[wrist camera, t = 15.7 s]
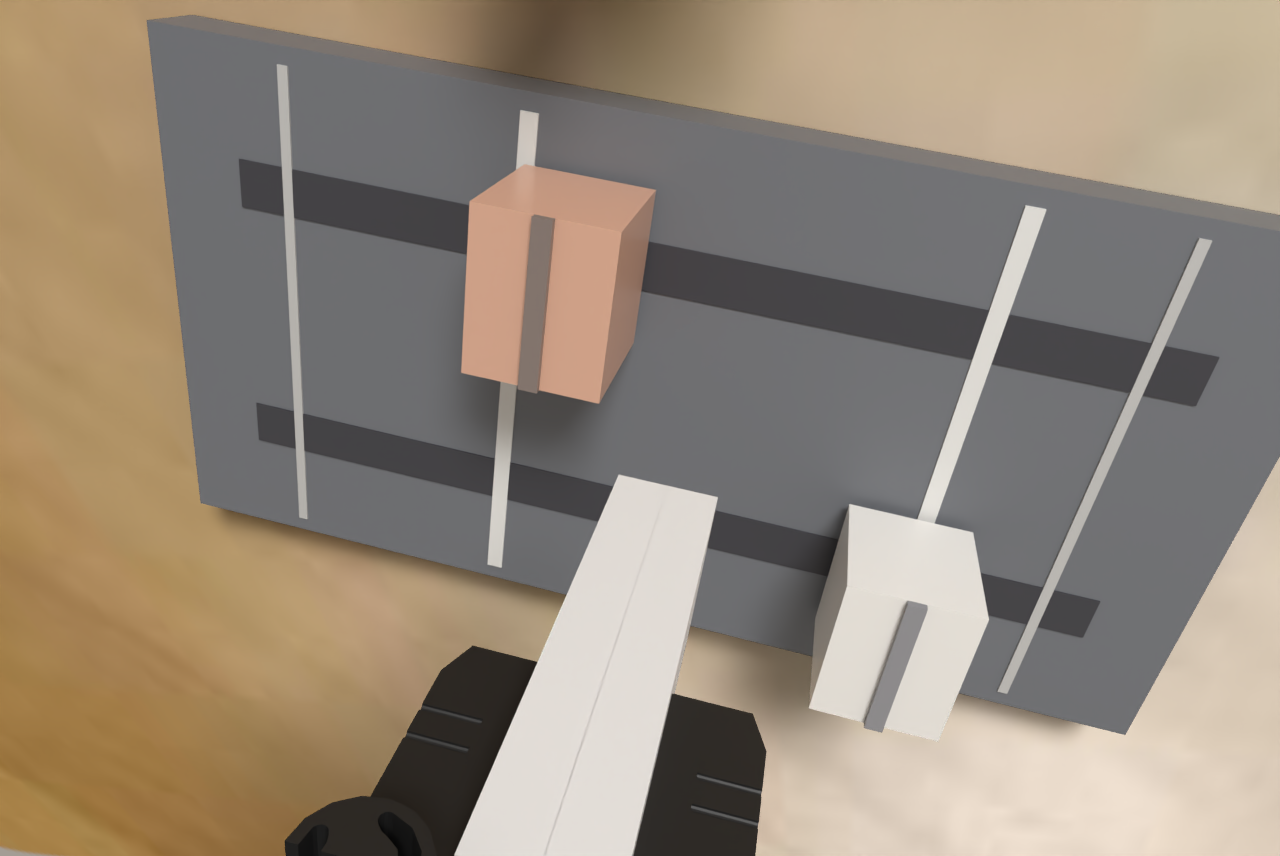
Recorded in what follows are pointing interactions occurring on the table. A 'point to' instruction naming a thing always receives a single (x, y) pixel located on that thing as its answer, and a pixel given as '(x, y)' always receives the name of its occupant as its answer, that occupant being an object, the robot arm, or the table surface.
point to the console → (723, 351)
